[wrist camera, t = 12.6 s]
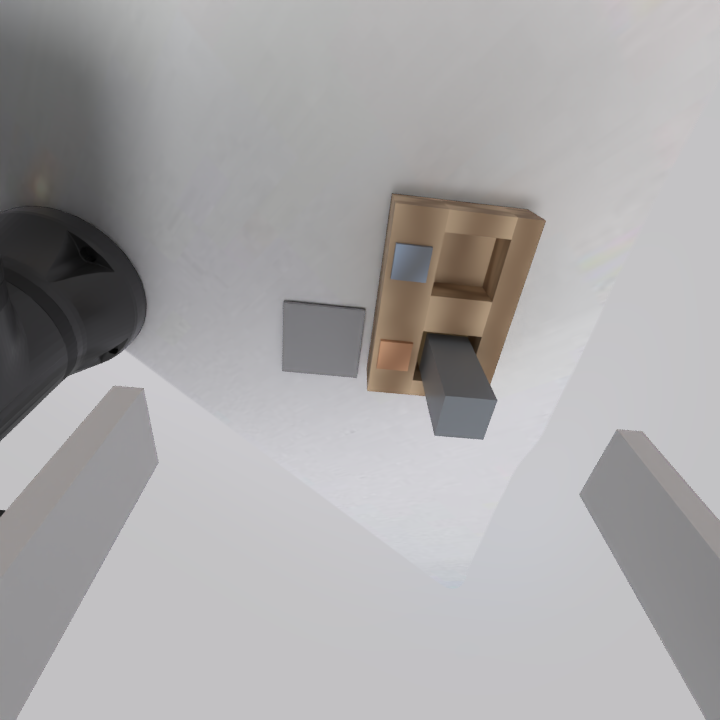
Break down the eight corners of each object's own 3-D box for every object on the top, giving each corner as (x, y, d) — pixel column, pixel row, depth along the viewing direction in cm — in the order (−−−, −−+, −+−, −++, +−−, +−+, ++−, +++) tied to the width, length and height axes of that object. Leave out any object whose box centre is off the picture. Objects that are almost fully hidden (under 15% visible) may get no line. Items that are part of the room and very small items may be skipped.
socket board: (366, 369, 45) (367, 393, 41) (392, 193, 35) (396, 204, 32) (475, 379, 46) (485, 403, 42) (528, 209, 36) (547, 222, 32)
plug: (416, 357, 43) (434, 435, 33) (423, 323, 41) (445, 395, 31) (454, 361, 44) (483, 439, 33) (463, 327, 42) (497, 400, 31)
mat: (282, 369, 45) (282, 371, 44) (284, 301, 41) (283, 302, 40) (356, 375, 45) (356, 377, 45) (365, 309, 41) (365, 310, 41)
